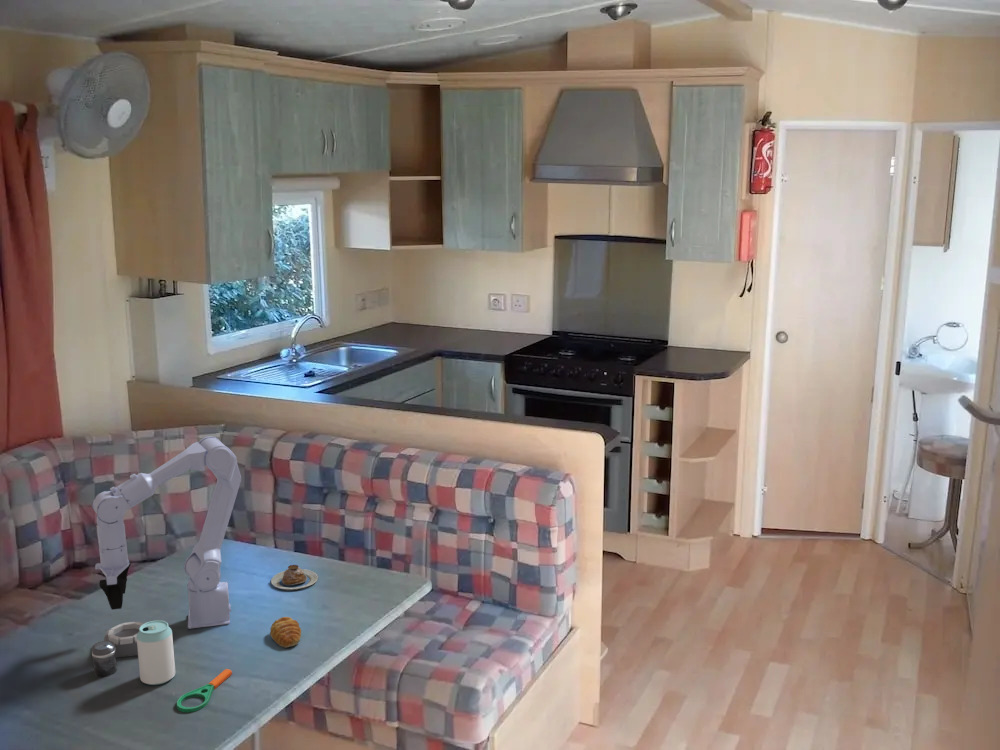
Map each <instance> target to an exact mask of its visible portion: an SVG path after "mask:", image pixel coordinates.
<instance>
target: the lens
mask: <svg viewBox="0 0 1000 750" xmlns="http://www.w3.org/2000/svg"><path fill="white" fill-rule="evenodd" d="M115 653H116V649H115V644H114V642H112V641H104V640H102V641H99V642H96V643H93V645H92V646H91V656H92V662H93V671H94V672H93V673H94V676H96V677H97V678H98V677H99V678H106V677H110V676H112V675H113V674H115V673H117V671H118V666H117V658H116V654H115Z"/></svg>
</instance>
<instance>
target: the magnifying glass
mask: <svg viewBox="0 0 1000 750" xmlns="http://www.w3.org/2000/svg"><path fill="white" fill-rule="evenodd" d="M232 675H233V671H232V670H231V669H230V668H229V669H228V668H225V669H223V670H222V672H220V673H219V674H218V675H217V676H215V678H213V679H212V680H211V681H210V682H209V683H207V684H205V685H203V686H200V687H198V688H196V689H193V690H191V691H188V692H186V693H184V694H182V695H181V696H180V697H179V698H178V699H177V701H176V709H177V710H178V711H179V712H181V713H194V712H197V711H200V710H202V709H204V708H205V707H207V705H208V704H209V702H210V700H211V697H212V694H213V693H214V690H216V689H217V688H218V687H219V686H221V684H222V683H224V682H225V681H226V680H227V679H228V678H231V676H232ZM191 698H202V699H203V700H204V701H203V702H202V703H200V704H199V705H197V706H191V707H188V706H184V705H182V703H183V702H184V701H186V700H188V699H191Z"/></svg>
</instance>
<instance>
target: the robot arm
mask: <svg viewBox="0 0 1000 750" xmlns="http://www.w3.org/2000/svg"><path fill="white" fill-rule="evenodd" d="M237 457H238V456H236V454H234V451H232V450H231V449H230V448H229V447H228V446H226V445H225V444H224V443H223V442H222V441H221V440H220V439H219V438H218V437H216V436H210V435H209V436H205V437H202V438H201V439H200V440H199V441H195V442H193V443H192V444H190V445H189V446H188V447H187V448H186V449H185V450H183V451H182V452H180V453H179V454H177V455H175V456H174V457H173V458H171V459H169V460H168V461H166V462H165V463H164V464H162V465H160V466H158V468H155V469H154V470H153V471H151V472H150V473H144V472H139V473H138V474H136V473H132V474H130V476H129V479H127V480H126V481H124V482H122V483H121V484H119V485H117V486H111V487H110V488H109V490H108V491H107V490H104V491H102V492H100V493H98V494H97V495H96V496H95V498H94V499H93V502H92V504H91V507H92V509H93V511H94V512H95V513H96V524H97V526H96V533H97V540H98V541H97V542H98V549H99V550H98V551H99V558H100V562H97V563H95V566H94V568H95V570H101V572H102V574H104V576H105V579H100V580H99V588H100V589H101V590H102V592H104V594H105V596H106V599H107V601H108V603H109V606H110V609H111V610H112V611H113V610H121V609H122V607H123V603H124V602H123V601H124V599H123V598H124V595H125V593H126V589H127V581H128V573H129V570H130V568H131V565H132V560H131V559H129V557H128V548H127V547H128V546H127V545H128V544H127V537H126V535H127V534H126V525H125V523H124V516H125V515H126V512H127V511H128V510H130V509H131V508H134V507H135V506H137V505H139V504H141V503H142V502H144V501H146V500H147V499H148V498H151V497H152V496H153V495H154V494H155V493H156V490H157V487H158V486H160V485H163V484H164V483H167V482H168V481H170V480H172V479H174V478H175V477H178V476H180V475H181V474H184V473H185V472H187V471H190V470H193V471H194V470H195V471H202V472H205V471H206V469H205V467H207V468H208V469H209V470H210V471H211V472H212V474H213V475H214V477H215V478H216V484H215V487H214V490H213V493H212V496H211V500H210V503H209V507H208V510H207V513H206V517H205V519H204V520H205V521H204V523H203V527H202V530H201V533H200V536H199V541H198V543H196V544H195V545H194V546H193V548H192V551H191V553H190V555H189V556H187V558H186V559H185V561H184V564H183V565H184V566H183V568H184V573H186V575H187V576H188V577H189V578H188V579H189V580H188V581H187V585H186V586H187V599H188V609H189V610H188V618H187V629H188V630H189V629H191V630H192V629H197V628H198V629H199V628H207V627H213V626H223V625H229V624H230V623H231V618H230V617H231V612H232V608H231V607H232V605H231V603H230V598H229V584H228V582H227V581H221V578H222V574H221V565H222V555H221V554H222V553H221V548H222V545H223V542H224V538H225V536H226V531H227V529H228V525H229V521H230V519H231V515H232V512H233V509H234V505H235V503H236V502H235V501H236V498H237V495H238V492H239V488H240V486H241V482H242V476H241V471H240V469H239V468H240V467H239V465H238V458H237Z"/></svg>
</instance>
